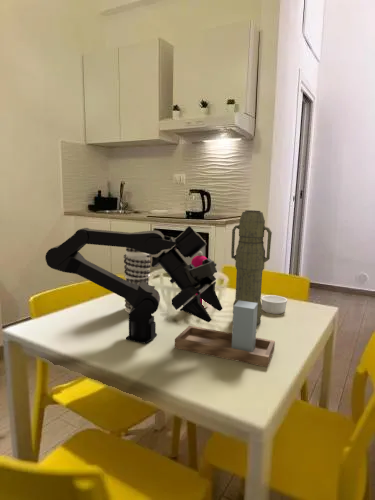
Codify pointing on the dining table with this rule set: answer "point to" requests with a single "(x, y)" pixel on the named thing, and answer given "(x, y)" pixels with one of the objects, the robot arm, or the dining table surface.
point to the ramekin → (273, 304)
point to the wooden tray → (223, 346)
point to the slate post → (244, 325)
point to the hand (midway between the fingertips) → (216, 315)
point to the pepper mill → (198, 262)
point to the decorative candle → (136, 269)
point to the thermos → (250, 257)
